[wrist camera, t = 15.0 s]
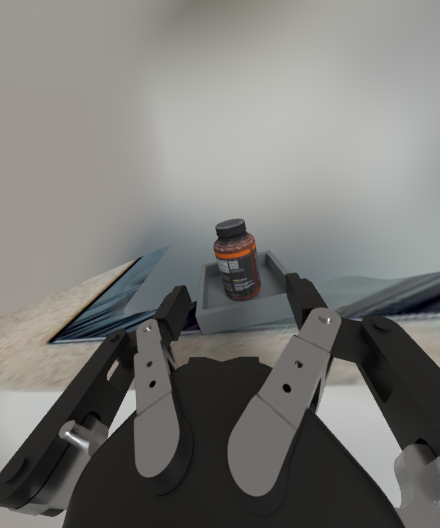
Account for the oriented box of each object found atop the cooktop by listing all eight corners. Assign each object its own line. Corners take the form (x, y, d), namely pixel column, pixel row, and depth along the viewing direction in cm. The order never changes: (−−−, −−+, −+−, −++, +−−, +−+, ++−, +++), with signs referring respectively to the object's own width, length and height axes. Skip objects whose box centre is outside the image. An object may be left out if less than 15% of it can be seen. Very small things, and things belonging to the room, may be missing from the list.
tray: (270, 265, 32) (269, 250, 31) (306, 315, 20) (307, 293, 19) (206, 279, 33) (201, 265, 32) (202, 335, 21) (195, 316, 19)
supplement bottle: (250, 275, 29) (240, 214, 24) (269, 292, 24) (262, 219, 19) (220, 287, 28) (203, 225, 23) (233, 308, 23) (215, 233, 18)
